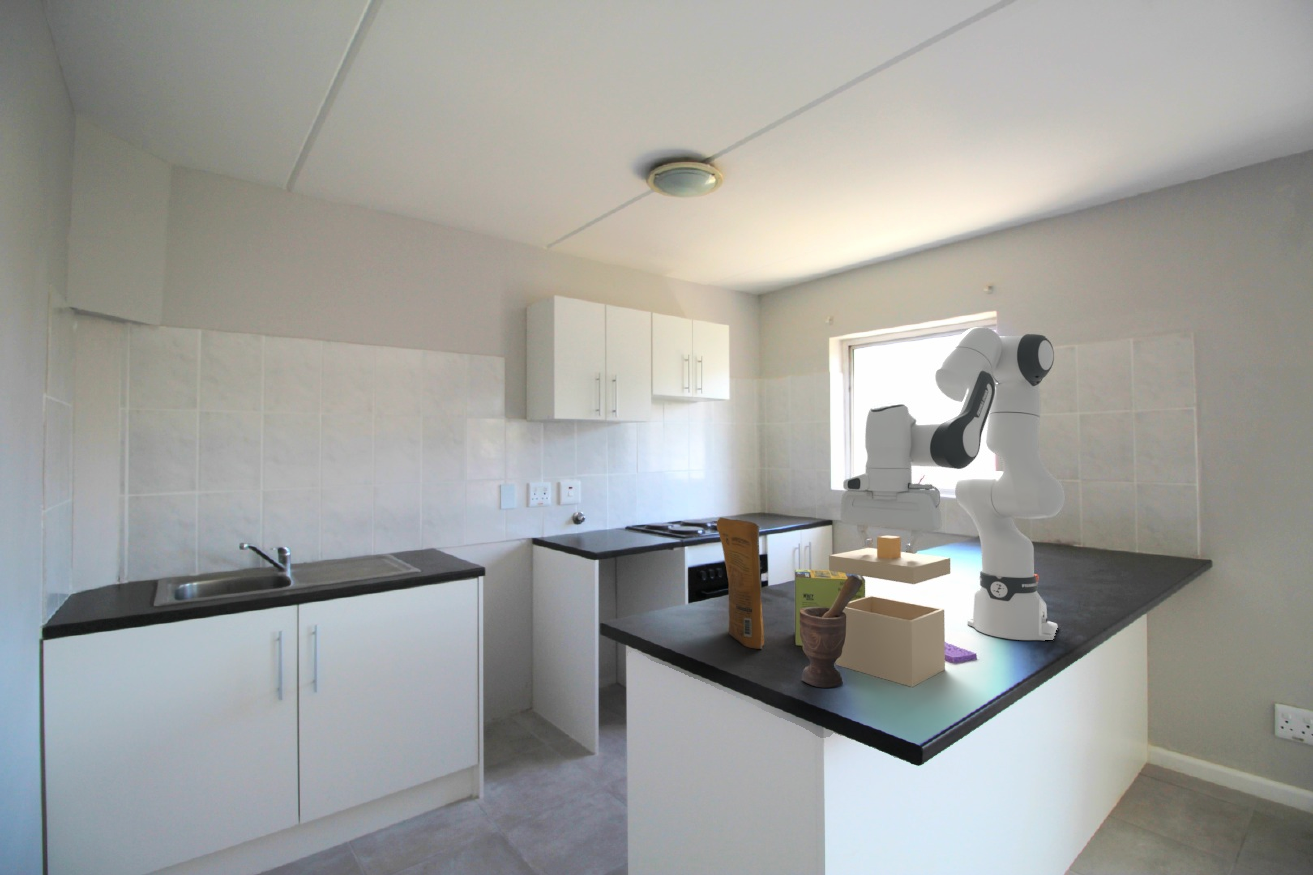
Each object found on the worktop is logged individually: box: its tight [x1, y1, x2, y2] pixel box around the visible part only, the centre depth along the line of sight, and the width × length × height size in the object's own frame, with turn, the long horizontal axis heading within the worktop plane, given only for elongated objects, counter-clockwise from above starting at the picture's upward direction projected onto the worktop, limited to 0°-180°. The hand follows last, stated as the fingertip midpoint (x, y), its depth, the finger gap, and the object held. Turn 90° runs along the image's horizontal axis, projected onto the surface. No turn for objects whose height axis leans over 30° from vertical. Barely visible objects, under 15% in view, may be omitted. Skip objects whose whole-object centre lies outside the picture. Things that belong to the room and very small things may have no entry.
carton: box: [835, 595, 946, 688], centre depth 124 cm, size 14×16×12 cm
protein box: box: [794, 569, 866, 647], centre depth 142 cm, size 10×15×16 cm
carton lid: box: [828, 535, 951, 585], centre depth 125 cm, size 16×18×7 cm
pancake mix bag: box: [716, 517, 765, 650], centre depth 143 cm, size 7×19×28 cm, turn 16°
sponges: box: [945, 641, 978, 664], centre depth 134 cm, size 7×13×2 cm, turn 22°
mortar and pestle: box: [800, 575, 862, 688], centre depth 117 cm, size 12×9×20 cm
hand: (888, 550), depth 125 cm, fingers open, 8 cm apart
